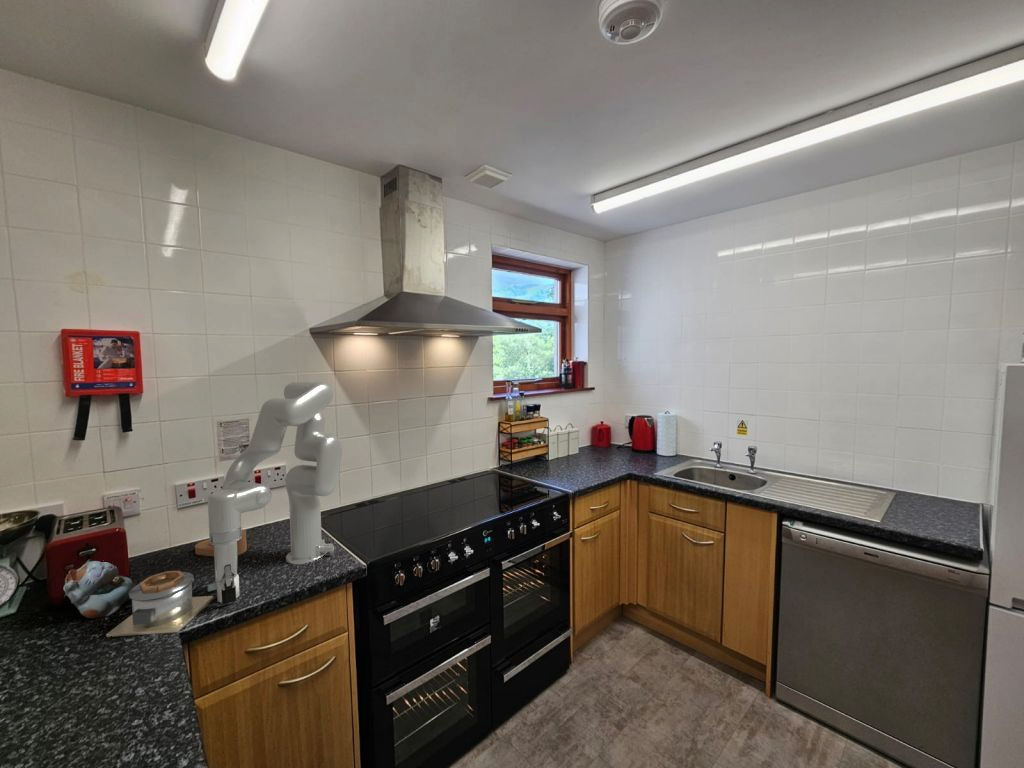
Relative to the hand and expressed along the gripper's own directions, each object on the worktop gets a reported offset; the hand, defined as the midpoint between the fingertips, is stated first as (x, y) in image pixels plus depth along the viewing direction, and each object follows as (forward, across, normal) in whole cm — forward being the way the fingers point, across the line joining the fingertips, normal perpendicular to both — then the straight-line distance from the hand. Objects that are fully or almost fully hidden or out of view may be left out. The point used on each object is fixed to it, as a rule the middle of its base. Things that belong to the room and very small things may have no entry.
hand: (228, 594), depth 120 cm
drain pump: (+1, 0, 0) cm, 1 cm away
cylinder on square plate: (+1, +1, -14) cm, 14 cm away
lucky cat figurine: (+2, -15, -28) cm, 32 cm away
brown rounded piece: (+2, -38, -1) cm, 38 cm away
